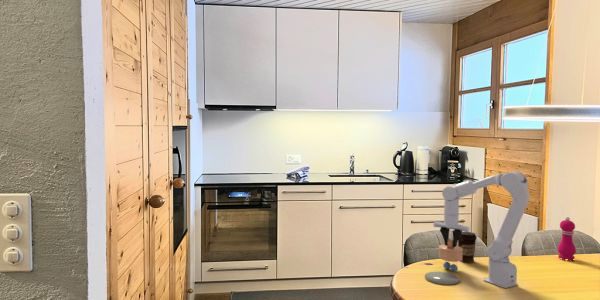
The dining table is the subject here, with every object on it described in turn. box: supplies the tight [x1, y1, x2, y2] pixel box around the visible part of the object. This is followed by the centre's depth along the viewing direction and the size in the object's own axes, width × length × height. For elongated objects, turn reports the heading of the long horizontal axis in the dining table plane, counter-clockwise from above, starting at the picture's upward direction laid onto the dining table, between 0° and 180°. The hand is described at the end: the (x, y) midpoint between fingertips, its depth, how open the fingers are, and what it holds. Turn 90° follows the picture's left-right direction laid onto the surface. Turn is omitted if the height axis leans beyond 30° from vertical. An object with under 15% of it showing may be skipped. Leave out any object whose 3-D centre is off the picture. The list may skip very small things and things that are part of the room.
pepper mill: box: [557, 216, 577, 260], centre depth 187 cm, size 7×7×20 cm
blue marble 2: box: [449, 263, 458, 272], centre depth 169 cm, size 3×3×3 cm
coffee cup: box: [457, 231, 478, 263], centre depth 183 cm, size 9×8×13 cm
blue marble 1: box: [442, 261, 452, 270], centre depth 172 cm, size 3×3×3 cm
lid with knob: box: [438, 238, 463, 263], centre depth 170 cm, size 10×10×8 cm
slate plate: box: [424, 271, 460, 286], centre depth 159 cm, size 13×13×1 cm
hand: (450, 245), depth 170 cm, fingers closed on lid with knob, 3 cm apart
